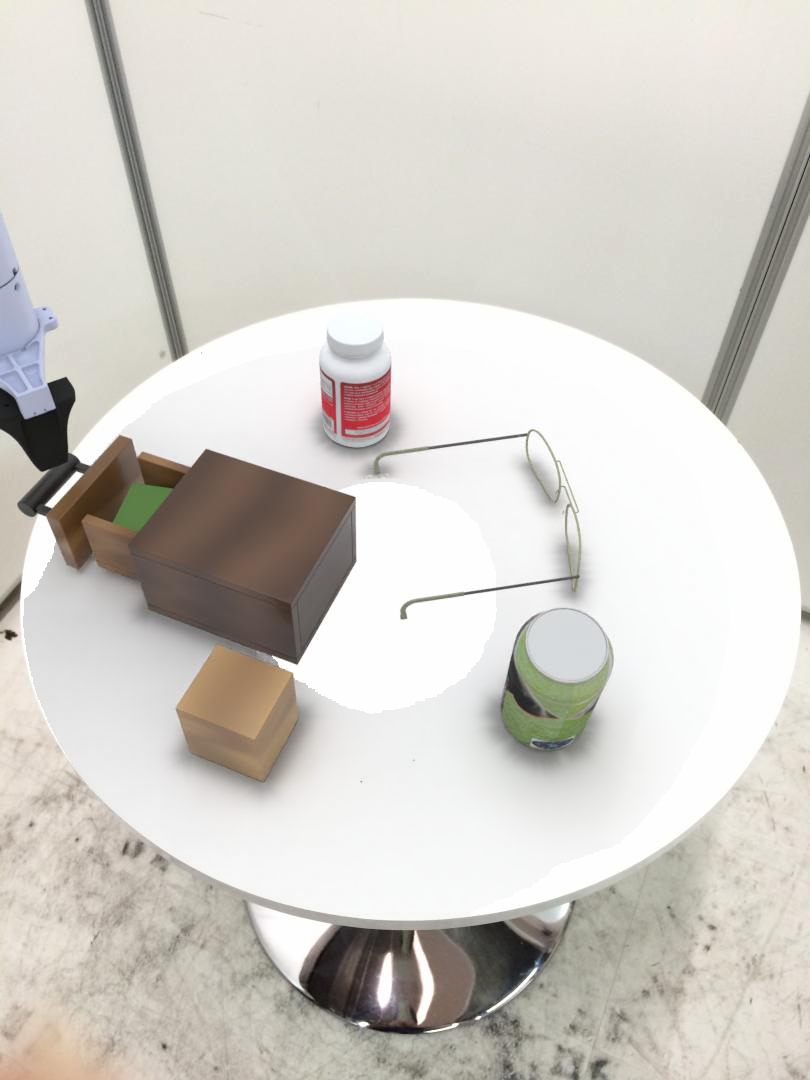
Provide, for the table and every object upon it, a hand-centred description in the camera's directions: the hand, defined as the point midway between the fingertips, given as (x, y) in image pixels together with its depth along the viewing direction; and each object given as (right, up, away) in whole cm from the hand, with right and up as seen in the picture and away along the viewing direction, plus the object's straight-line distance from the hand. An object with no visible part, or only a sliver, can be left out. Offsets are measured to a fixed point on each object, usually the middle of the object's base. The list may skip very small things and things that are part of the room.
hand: (34, 433), depth 64 cm
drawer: (+6, -8, +5) cm, 11 cm away
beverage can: (+37, -21, -4) cm, 43 cm away
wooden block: (+17, -21, -5) cm, 27 cm away
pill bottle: (+23, +2, +16) cm, 28 cm away
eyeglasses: (+33, -7, +8) cm, 35 cm away
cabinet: (+16, -11, +3) cm, 20 cm away
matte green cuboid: (+8, -8, +4) cm, 11 cm away
